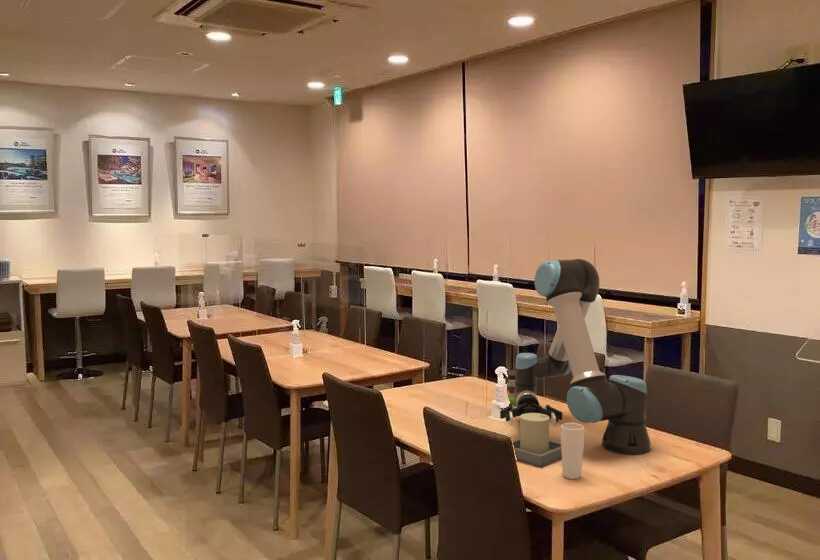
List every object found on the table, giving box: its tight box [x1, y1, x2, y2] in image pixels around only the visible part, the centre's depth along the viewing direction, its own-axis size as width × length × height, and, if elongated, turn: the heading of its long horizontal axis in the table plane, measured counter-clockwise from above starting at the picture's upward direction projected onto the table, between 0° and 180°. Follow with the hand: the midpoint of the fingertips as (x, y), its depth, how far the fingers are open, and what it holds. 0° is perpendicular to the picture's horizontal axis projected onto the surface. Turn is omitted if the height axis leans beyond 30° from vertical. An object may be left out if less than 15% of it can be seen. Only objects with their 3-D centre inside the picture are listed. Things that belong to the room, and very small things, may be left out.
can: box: [519, 413, 551, 455], centre depth 231 cm, size 9×9×12 cm
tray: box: [512, 437, 562, 469], centre depth 231 cm, size 15×15×4 cm
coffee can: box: [506, 369, 517, 407], centre depth 286 cm, size 10×10×14 cm
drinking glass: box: [560, 422, 586, 480], centre depth 213 cm, size 7×7×15 cm
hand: (533, 422), depth 235 cm, fingers open, 13 cm apart
